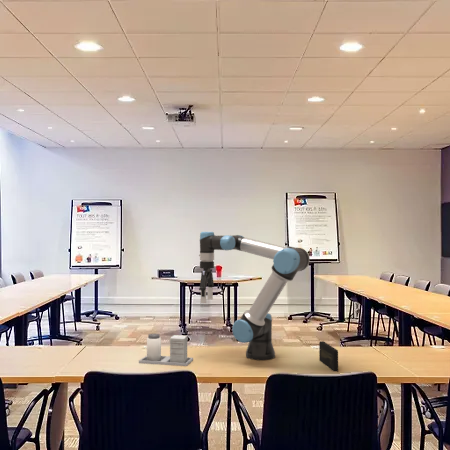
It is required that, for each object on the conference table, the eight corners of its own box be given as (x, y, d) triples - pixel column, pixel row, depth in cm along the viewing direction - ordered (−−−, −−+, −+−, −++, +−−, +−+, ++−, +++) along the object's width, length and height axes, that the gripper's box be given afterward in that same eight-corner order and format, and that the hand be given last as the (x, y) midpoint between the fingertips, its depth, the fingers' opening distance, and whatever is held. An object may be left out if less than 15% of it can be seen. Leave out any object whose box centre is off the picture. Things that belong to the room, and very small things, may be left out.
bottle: (162, 359, 256) (163, 333, 256) (158, 363, 250) (158, 336, 250) (149, 358, 258) (149, 332, 258) (144, 362, 251) (144, 335, 251)
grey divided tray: (193, 362, 255) (193, 357, 255) (186, 368, 244) (186, 363, 244) (147, 359, 261) (147, 355, 261) (138, 365, 249) (138, 360, 249)
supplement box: (173, 360, 255) (173, 334, 255) (187, 360, 254) (187, 335, 254) (169, 364, 248) (169, 338, 248) (184, 364, 246) (184, 338, 247)
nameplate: (338, 371, 239) (338, 350, 239) (334, 372, 238) (334, 350, 238) (322, 360, 259) (322, 340, 259) (319, 360, 259) (319, 341, 259)
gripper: (206, 259, 282) (206, 297, 282) (193, 262, 258) (193, 304, 257) (219, 259, 280) (219, 298, 280) (207, 262, 256) (207, 304, 256)
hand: (206, 301), depth 269 cm, fingers open, 13 cm apart
